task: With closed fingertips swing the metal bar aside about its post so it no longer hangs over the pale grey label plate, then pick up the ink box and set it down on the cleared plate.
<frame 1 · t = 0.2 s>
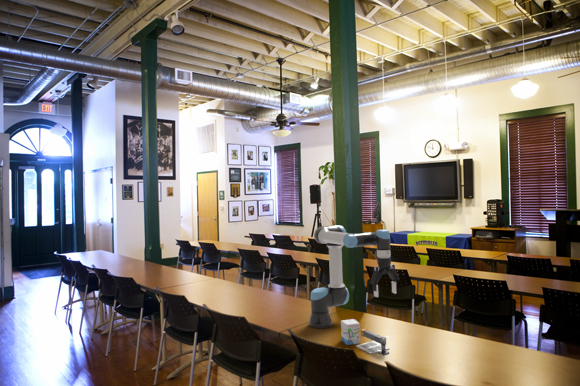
hand: (385, 294, 219), 28 cm above the table, fingers open, 13 cm apart
pivot post: (383, 353, 205), on the table
label plate: (372, 347, 213), on the table
ink box: (350, 342, 224), on the table
swing arm: (373, 336, 212), point 6 cm above the table, hinge at 0.0°
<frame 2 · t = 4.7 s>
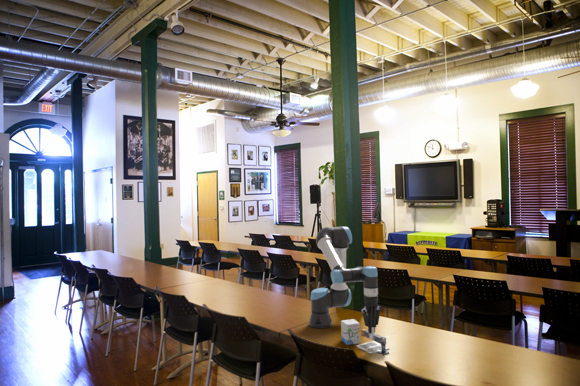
hand: (371, 338, 211), 6 cm above the table, fingers closed
swing arm: (373, 336, 212), point 6 cm above the table, hinge at -0.8°, touching gripper
everything else where it was.
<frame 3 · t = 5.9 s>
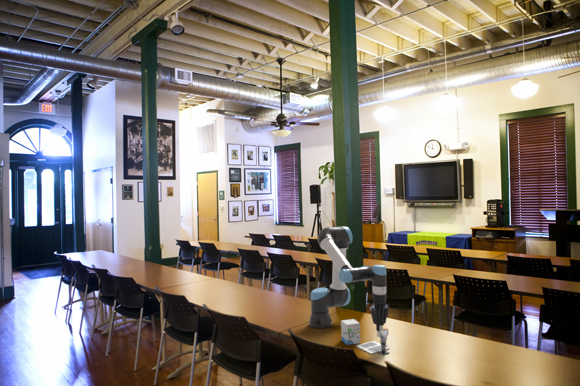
hand: (379, 336, 213), 6 cm above the table, fingers closed
swing arm: (384, 336, 213), point 6 cm above the table, hinge at -47.4°, touching gripper
everything else where it was.
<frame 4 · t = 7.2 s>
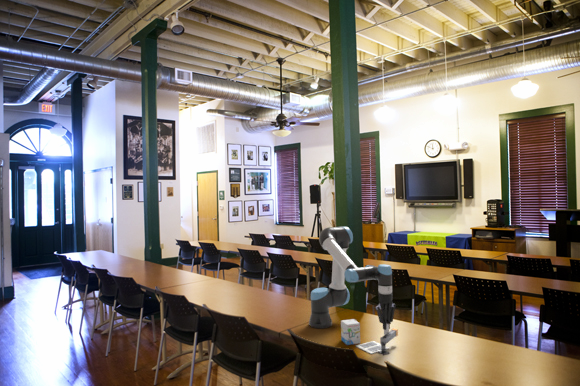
hand: (386, 335, 216), 6 cm above the table, fingers closed
swing arm: (389, 336, 212), point 6 cm above the table, hinge at -66.1°, touching gripper
everything else where it was.
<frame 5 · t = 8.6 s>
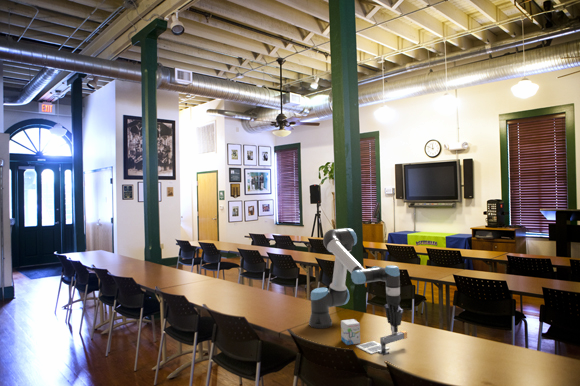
hand: (394, 337, 213), 6 cm above the table, fingers closed
swing arm: (393, 337, 210), point 6 cm above the table, hinge at -87.2°, touching gripper
everything else where it was.
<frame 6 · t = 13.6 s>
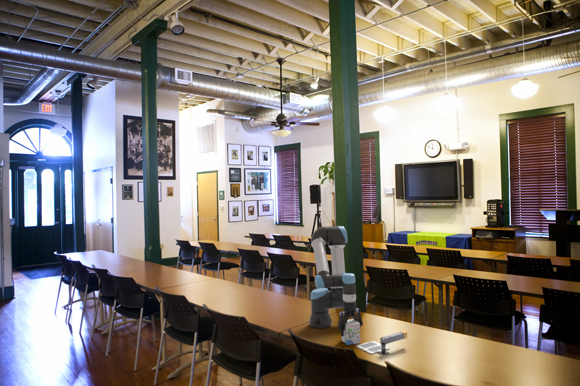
hand: (350, 339, 224), 1 cm above the table, fingers closed on ink box, 9 cm apart
ink box: (350, 342, 224), on the table, touching gripper
swing arm: (393, 337, 210), point 7 cm above the table, hinge at -87.2°
when the fingers open (3 cm above the table, at t = 19.0 s): ink box drops 1 cm, resting on label plate.
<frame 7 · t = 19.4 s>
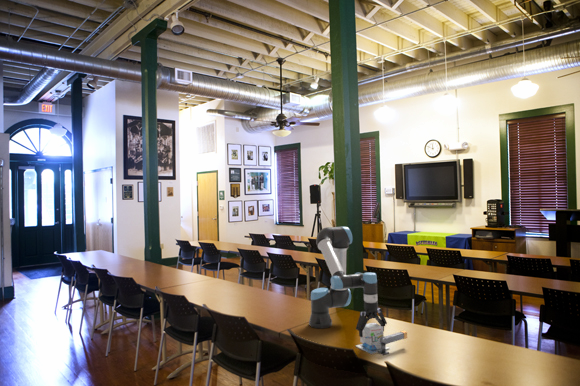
hand: (372, 340, 213), 4 cm above the table, fingers open, 13 cm apart
ink box: (372, 346, 213), resting on label plate
everything else where it was.
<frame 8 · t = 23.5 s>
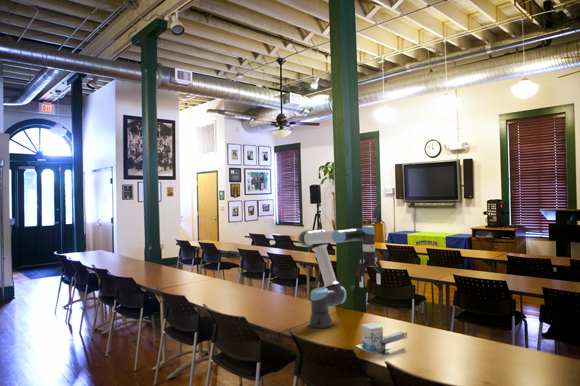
hand: (370, 285, 238), 29 cm above the table, fingers open, 13 cm apart
nothing on the table moved.
at the end: swing arm at -87° (first picture: +0°); ink box inside the target area on the label plate (0.3 cm from its centre), point 0.5 cm above the label plate's base; ink box tilted 0° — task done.
